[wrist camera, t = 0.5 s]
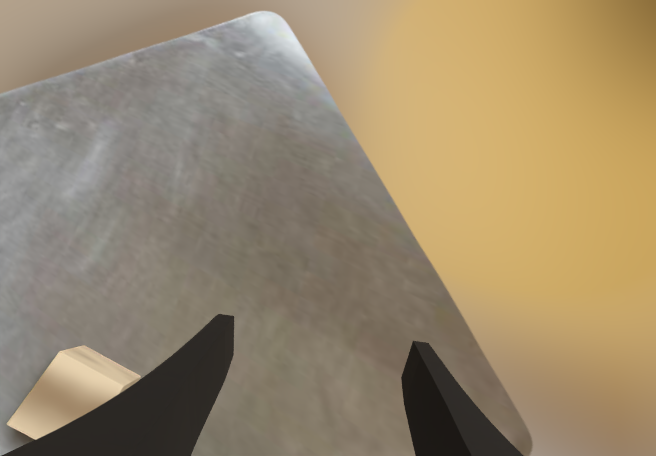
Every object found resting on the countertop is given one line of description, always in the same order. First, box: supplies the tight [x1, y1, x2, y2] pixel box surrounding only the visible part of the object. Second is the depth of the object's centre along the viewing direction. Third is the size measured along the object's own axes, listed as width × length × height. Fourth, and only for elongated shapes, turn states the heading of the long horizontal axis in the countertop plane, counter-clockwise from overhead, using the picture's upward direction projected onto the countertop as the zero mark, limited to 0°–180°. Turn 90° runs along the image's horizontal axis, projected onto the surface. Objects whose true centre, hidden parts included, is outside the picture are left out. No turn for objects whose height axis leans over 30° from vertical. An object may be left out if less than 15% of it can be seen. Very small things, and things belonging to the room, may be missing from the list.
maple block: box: [7, 345, 141, 440], centre depth 31 cm, size 7×7×4 cm
